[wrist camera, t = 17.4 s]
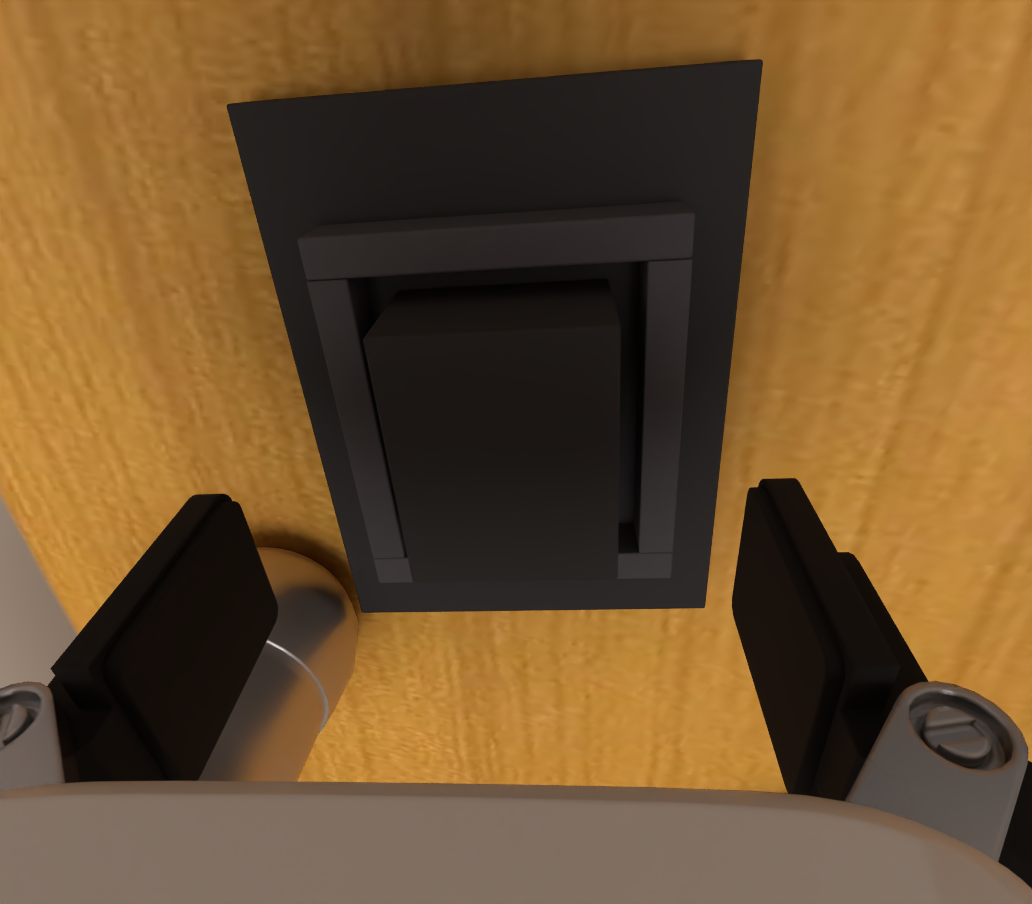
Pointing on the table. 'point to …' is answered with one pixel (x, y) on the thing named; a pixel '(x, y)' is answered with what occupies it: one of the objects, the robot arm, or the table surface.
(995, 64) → the table surface
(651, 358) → the base pad
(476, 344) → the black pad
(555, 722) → the table surface
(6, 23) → the table surface
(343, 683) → the plastic bottle
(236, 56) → the table surface
